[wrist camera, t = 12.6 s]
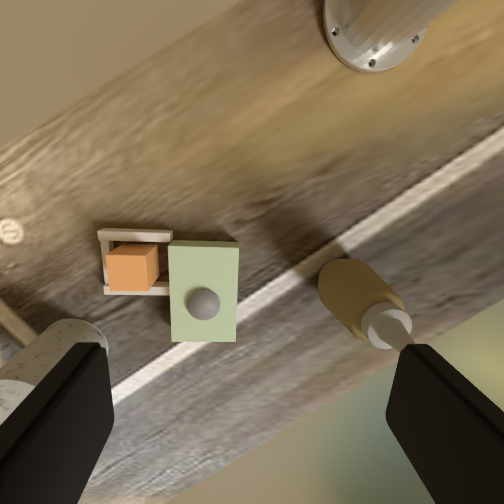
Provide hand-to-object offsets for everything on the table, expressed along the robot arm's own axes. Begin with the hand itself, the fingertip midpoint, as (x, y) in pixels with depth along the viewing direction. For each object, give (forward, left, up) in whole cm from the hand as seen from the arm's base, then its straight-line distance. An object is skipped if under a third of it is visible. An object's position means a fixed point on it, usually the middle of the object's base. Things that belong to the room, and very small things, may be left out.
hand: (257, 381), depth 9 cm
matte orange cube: (+6, -13, -30) cm, 33 cm away
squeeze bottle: (+8, +15, -30) cm, 35 cm away
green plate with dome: (+9, -9, -30) cm, 33 cm away
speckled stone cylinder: (+20, -24, -30) cm, 43 cm away
